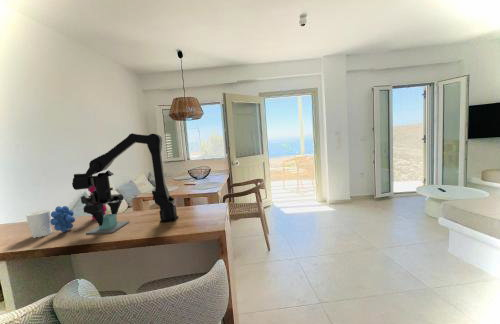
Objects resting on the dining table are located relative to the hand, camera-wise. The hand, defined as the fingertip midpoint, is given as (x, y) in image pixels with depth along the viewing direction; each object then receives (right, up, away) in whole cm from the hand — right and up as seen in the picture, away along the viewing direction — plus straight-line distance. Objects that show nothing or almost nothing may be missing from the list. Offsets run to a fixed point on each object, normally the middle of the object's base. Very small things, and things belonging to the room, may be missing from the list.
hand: (107, 221), depth 110 cm
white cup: (-28, -6, -1) cm, 28 cm away
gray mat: (0, -3, 0) cm, 3 cm away
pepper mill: (-14, -2, +16) cm, 21 cm away
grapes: (-18, -5, 0) cm, 18 cm away
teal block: (0, -2, 0) cm, 2 cm away
